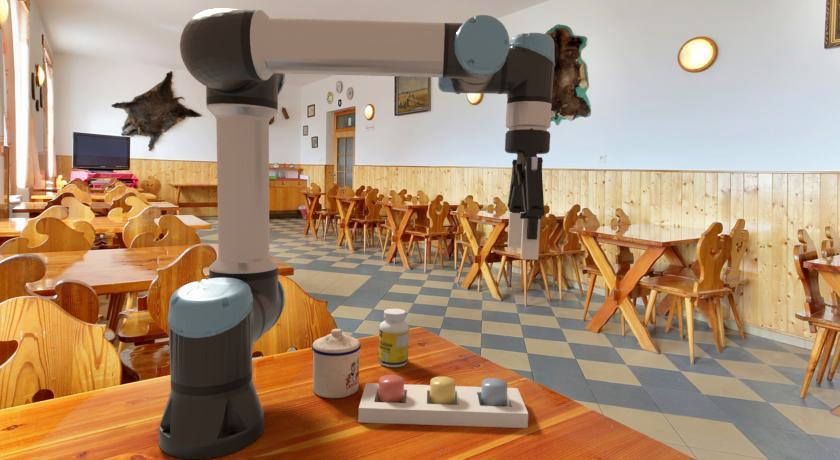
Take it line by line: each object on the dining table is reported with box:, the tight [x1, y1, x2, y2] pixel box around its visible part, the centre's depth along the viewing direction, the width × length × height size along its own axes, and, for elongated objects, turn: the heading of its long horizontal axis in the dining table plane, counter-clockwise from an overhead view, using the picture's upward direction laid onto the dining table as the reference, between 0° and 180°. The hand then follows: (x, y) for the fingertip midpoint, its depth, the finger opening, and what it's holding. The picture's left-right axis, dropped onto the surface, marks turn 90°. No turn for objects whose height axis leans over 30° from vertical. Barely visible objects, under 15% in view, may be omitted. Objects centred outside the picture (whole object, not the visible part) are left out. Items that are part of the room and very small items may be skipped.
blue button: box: [481, 377, 509, 407], centre depth 87 cm, size 4×4×4 cm
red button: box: [378, 374, 405, 403], centre depth 87 cm, size 4×4×4 cm
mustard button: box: [429, 376, 457, 405], centre depth 87 cm, size 4×4×4 cm
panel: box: [357, 382, 529, 429], centre depth 87 cm, size 28×10×2 cm, turn 89°
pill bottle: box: [378, 308, 410, 368], centre depth 109 cm, size 6×6×12 cm
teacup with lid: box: [311, 328, 361, 399], centre depth 96 cm, size 12×9×12 cm
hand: (521, 253), depth 88 cm, fingers open, 13 cm apart
